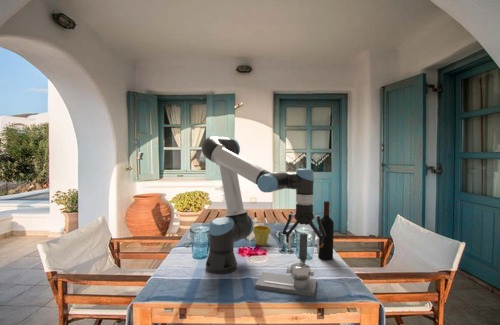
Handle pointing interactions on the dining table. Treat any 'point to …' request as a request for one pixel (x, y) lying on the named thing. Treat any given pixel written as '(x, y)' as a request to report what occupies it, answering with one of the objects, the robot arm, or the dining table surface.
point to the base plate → (286, 284)
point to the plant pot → (261, 234)
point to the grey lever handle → (301, 262)
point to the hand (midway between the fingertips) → (303, 251)
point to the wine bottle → (327, 242)
